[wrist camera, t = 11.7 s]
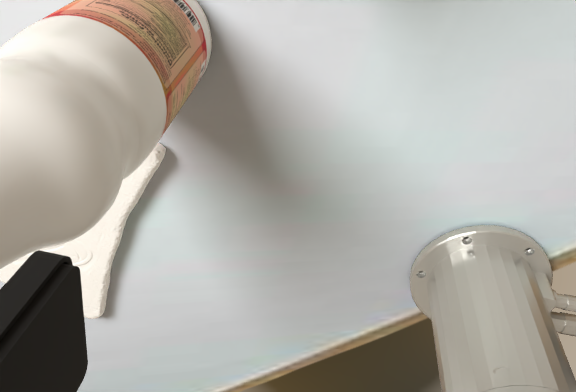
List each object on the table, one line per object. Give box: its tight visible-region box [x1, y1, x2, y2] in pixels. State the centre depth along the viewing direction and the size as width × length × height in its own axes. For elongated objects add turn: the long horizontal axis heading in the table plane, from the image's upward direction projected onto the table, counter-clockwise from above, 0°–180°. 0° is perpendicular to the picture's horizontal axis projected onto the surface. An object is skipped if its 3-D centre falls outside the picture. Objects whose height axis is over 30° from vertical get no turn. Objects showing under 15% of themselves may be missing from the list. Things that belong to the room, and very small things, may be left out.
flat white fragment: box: [0, 142, 166, 319], centre depth 51 cm, size 21×4×25 cm
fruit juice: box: [0, 0, 212, 269], centre depth 29 cm, size 9×9×28 cm
